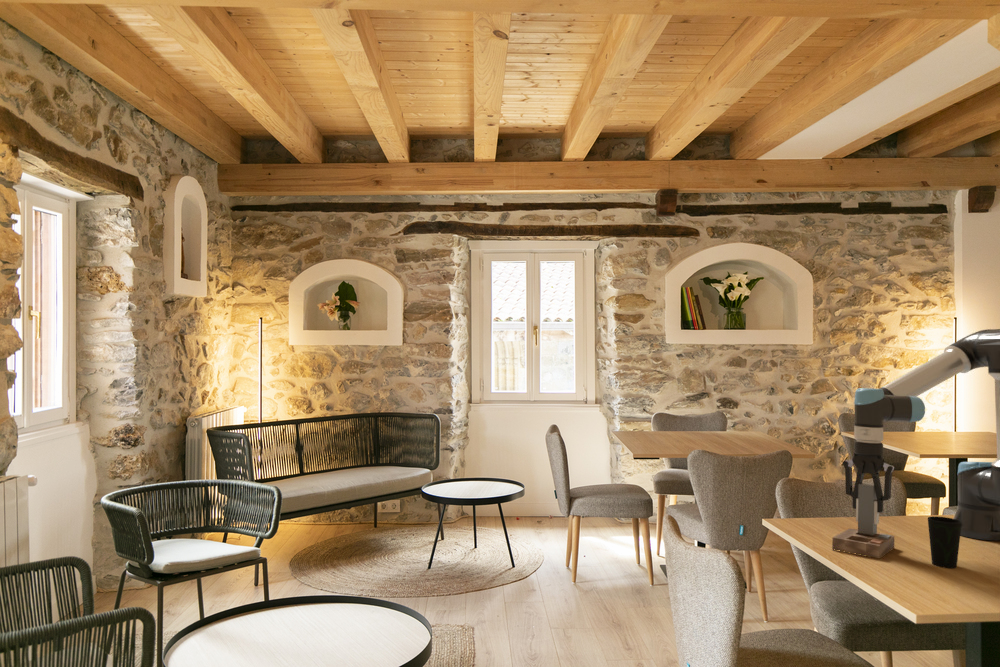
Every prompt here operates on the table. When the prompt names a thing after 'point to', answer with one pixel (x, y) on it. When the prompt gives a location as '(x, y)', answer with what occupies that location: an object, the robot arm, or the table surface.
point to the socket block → (863, 543)
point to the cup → (944, 541)
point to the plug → (866, 509)
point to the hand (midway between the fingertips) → (867, 521)
